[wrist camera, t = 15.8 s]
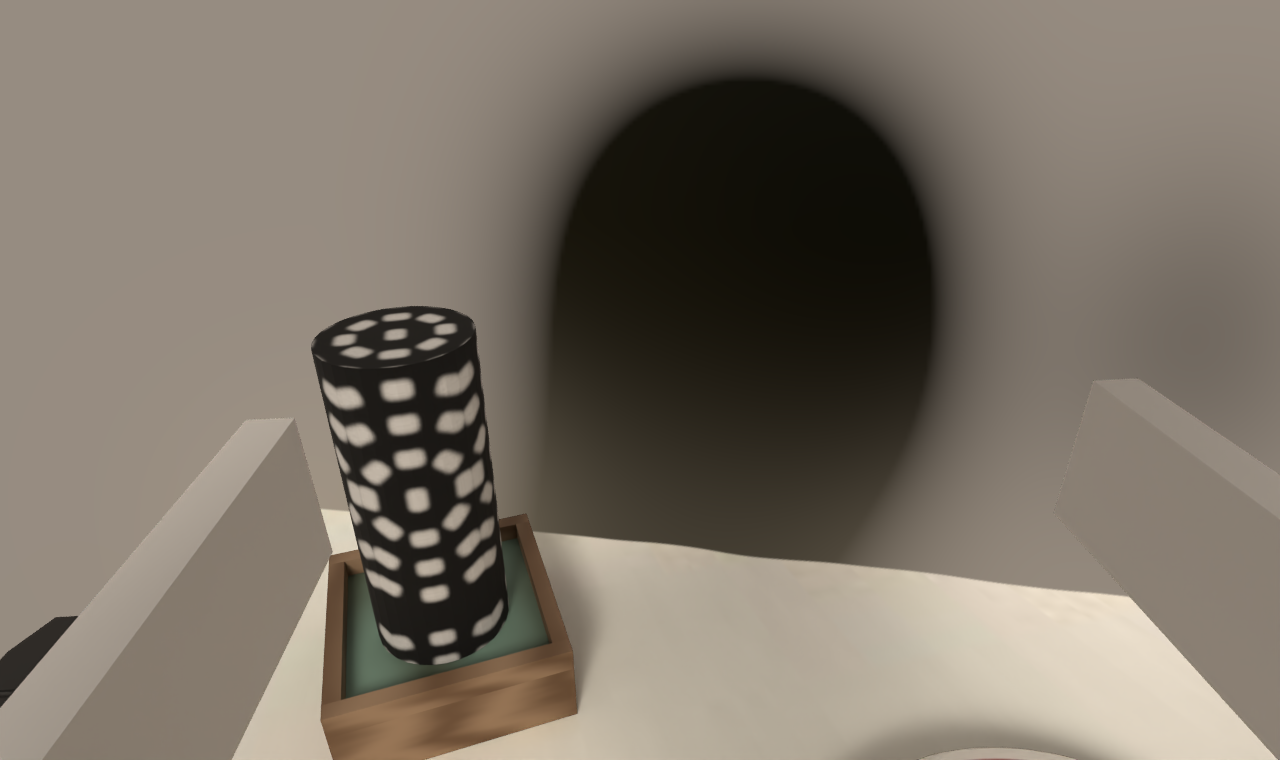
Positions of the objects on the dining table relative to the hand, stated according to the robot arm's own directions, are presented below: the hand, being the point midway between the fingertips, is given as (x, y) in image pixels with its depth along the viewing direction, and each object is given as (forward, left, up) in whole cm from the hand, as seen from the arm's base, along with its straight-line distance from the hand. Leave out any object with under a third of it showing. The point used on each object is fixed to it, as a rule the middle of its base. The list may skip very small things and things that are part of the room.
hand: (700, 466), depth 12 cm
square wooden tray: (+5, -28, -32) cm, 43 cm away
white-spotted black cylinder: (+5, -28, -28) cm, 40 cm away
